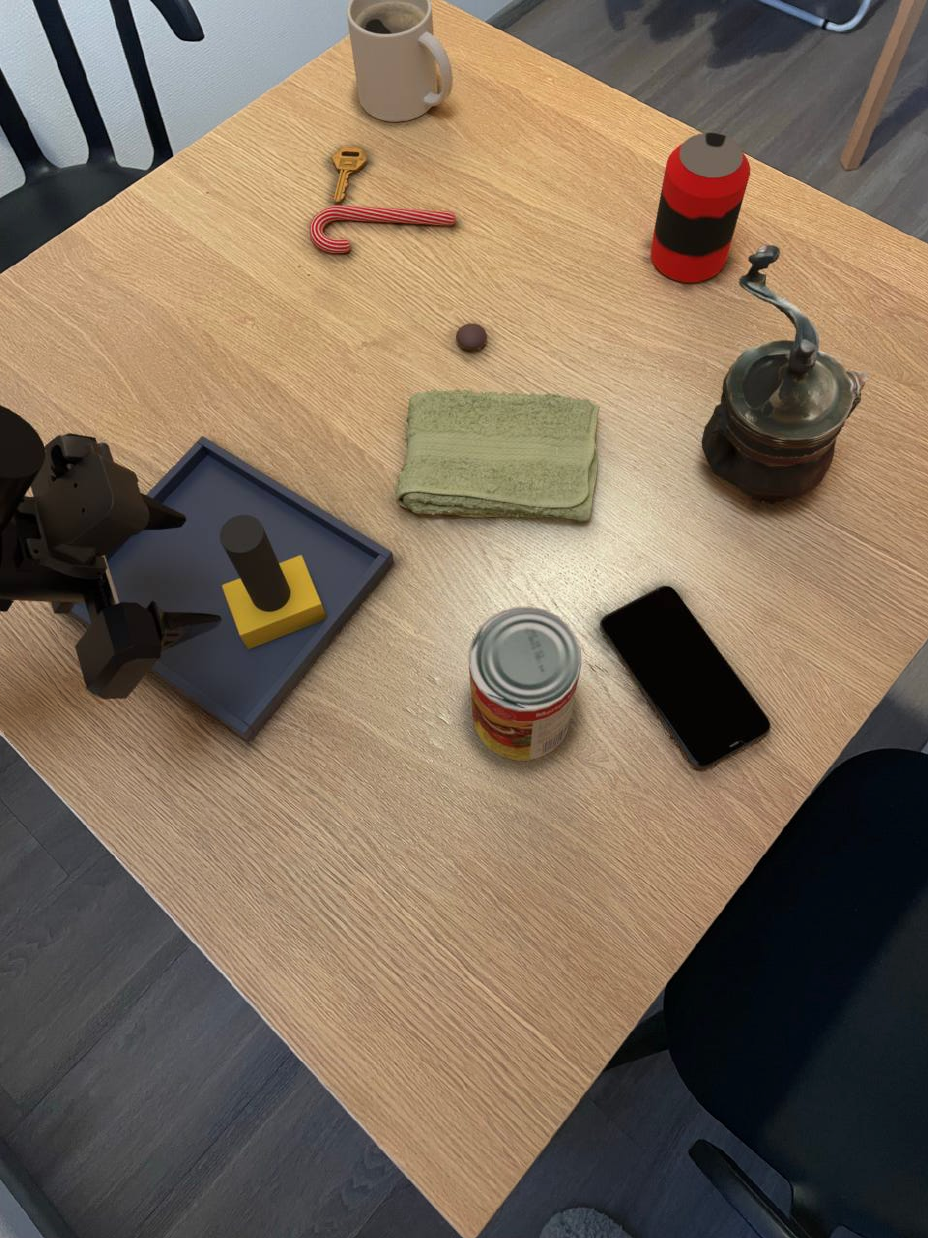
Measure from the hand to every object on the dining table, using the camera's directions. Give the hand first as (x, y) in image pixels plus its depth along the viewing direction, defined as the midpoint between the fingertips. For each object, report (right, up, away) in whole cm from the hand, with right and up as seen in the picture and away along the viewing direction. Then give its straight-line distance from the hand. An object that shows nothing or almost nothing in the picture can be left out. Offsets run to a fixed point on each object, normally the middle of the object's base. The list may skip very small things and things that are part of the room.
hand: (200, 570), depth 72 cm
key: (+7, +44, +32) cm, 55 cm away
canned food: (+24, -11, +6) cm, 27 cm away
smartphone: (+37, -8, +7) cm, 39 cm away
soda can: (+42, +33, +26) cm, 59 cm away
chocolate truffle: (+20, +23, +22) cm, 38 cm away
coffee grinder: (+45, +11, +16) cm, 49 cm away
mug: (+13, +54, +37) cm, 67 cm away
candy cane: (+11, +37, +29) cm, 48 cm away
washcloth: (+23, +11, +16) cm, 30 cm away
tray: (-1, -1, +12) cm, 12 cm away
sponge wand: (+4, -3, +10) cm, 11 cm away
